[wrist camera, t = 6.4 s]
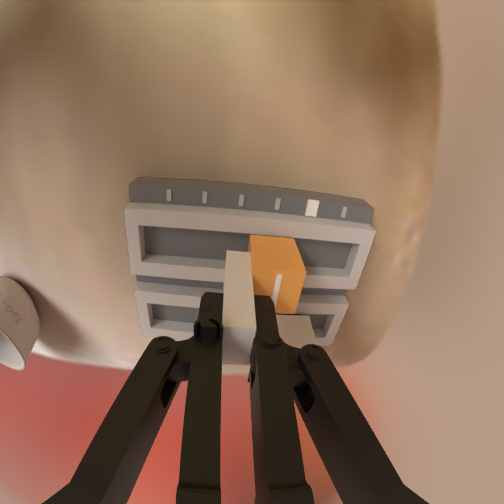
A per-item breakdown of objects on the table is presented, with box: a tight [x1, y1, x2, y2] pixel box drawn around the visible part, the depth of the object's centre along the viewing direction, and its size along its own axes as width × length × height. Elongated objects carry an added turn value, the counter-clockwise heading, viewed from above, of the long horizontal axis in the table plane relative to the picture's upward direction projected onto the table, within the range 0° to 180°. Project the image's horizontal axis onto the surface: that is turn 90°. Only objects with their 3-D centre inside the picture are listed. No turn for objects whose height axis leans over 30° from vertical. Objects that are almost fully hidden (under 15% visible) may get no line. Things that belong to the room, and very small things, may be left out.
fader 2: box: [276, 313, 317, 349], centre depth 22 cm, size 3×3×5 cm
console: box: [124, 177, 376, 346], centre depth 22 cm, size 14×18×3 cm
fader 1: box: [248, 234, 306, 314], centre depth 18 cm, size 3×3×5 cm
